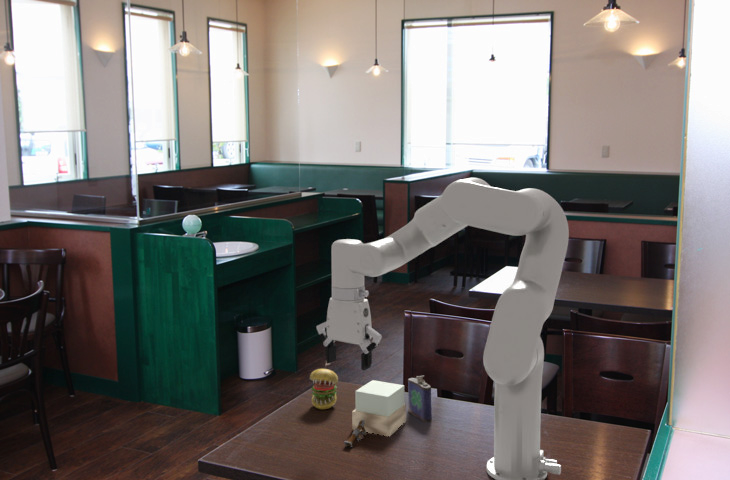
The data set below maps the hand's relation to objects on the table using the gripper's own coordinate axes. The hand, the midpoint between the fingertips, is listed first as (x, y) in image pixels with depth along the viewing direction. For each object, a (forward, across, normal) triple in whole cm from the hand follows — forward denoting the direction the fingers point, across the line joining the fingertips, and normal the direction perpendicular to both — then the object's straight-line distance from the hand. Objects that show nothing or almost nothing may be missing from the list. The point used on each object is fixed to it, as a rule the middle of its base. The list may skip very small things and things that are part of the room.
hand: (348, 365), depth 162 cm
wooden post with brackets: (+19, -2, 0) cm, 19 cm away
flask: (+19, -8, -22) cm, 30 cm away
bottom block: (+19, -2, -11) cm, 22 cm away
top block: (+14, -2, -11) cm, 18 cm away
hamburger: (+19, +18, -15) cm, 30 cm away
